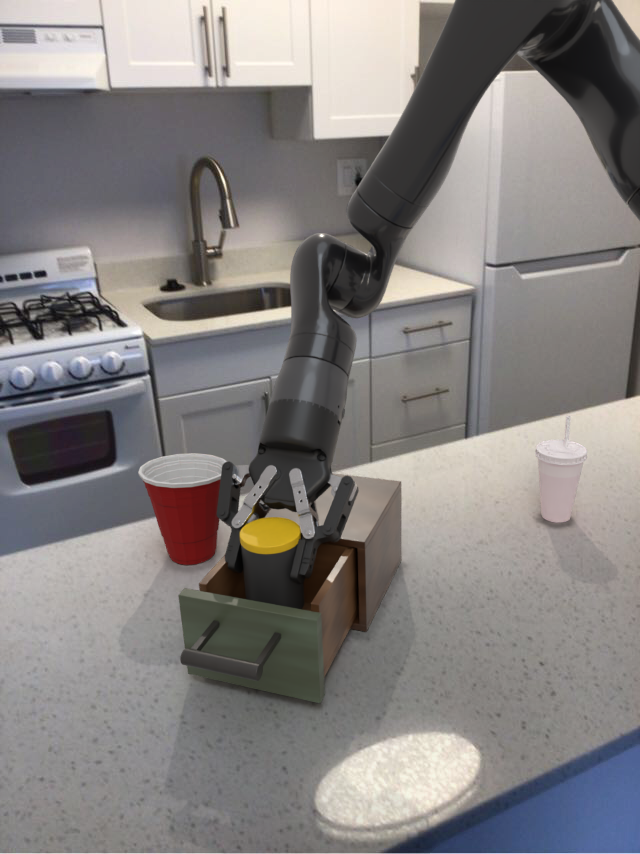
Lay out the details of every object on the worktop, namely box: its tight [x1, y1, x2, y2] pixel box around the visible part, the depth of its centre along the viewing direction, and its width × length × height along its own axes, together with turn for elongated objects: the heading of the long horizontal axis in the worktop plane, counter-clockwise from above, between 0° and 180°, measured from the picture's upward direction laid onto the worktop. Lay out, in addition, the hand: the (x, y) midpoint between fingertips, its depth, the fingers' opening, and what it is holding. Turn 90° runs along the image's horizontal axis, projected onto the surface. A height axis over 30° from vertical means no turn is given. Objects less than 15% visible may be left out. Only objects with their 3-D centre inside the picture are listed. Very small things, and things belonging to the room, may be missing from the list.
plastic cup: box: [137, 452, 228, 566], centre depth 92 cm, size 11×11×12 cm
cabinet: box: [260, 472, 402, 633], centre depth 85 cm, size 15×15×11 cm
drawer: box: [177, 543, 358, 704], centre depth 71 cm, size 19×13×9 cm
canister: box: [240, 517, 304, 609], centre depth 72 cm, size 6×6×8 cm
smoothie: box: [534, 415, 588, 524], centre depth 97 cm, size 6×6×14 cm
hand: (265, 575), depth 70 cm, fingers closed on canister, 5 cm apart
